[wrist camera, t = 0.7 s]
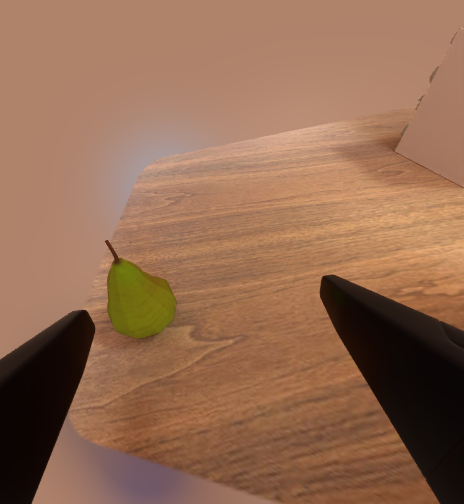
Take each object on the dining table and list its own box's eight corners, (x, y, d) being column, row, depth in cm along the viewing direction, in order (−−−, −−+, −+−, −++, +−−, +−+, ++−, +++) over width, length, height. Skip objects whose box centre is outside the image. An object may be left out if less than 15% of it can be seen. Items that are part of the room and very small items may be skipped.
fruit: (136, 360, 22) (61, 304, 13) (117, 314, 25) (46, 244, 16) (191, 322, 24) (161, 252, 15) (167, 285, 28) (130, 209, 19)
